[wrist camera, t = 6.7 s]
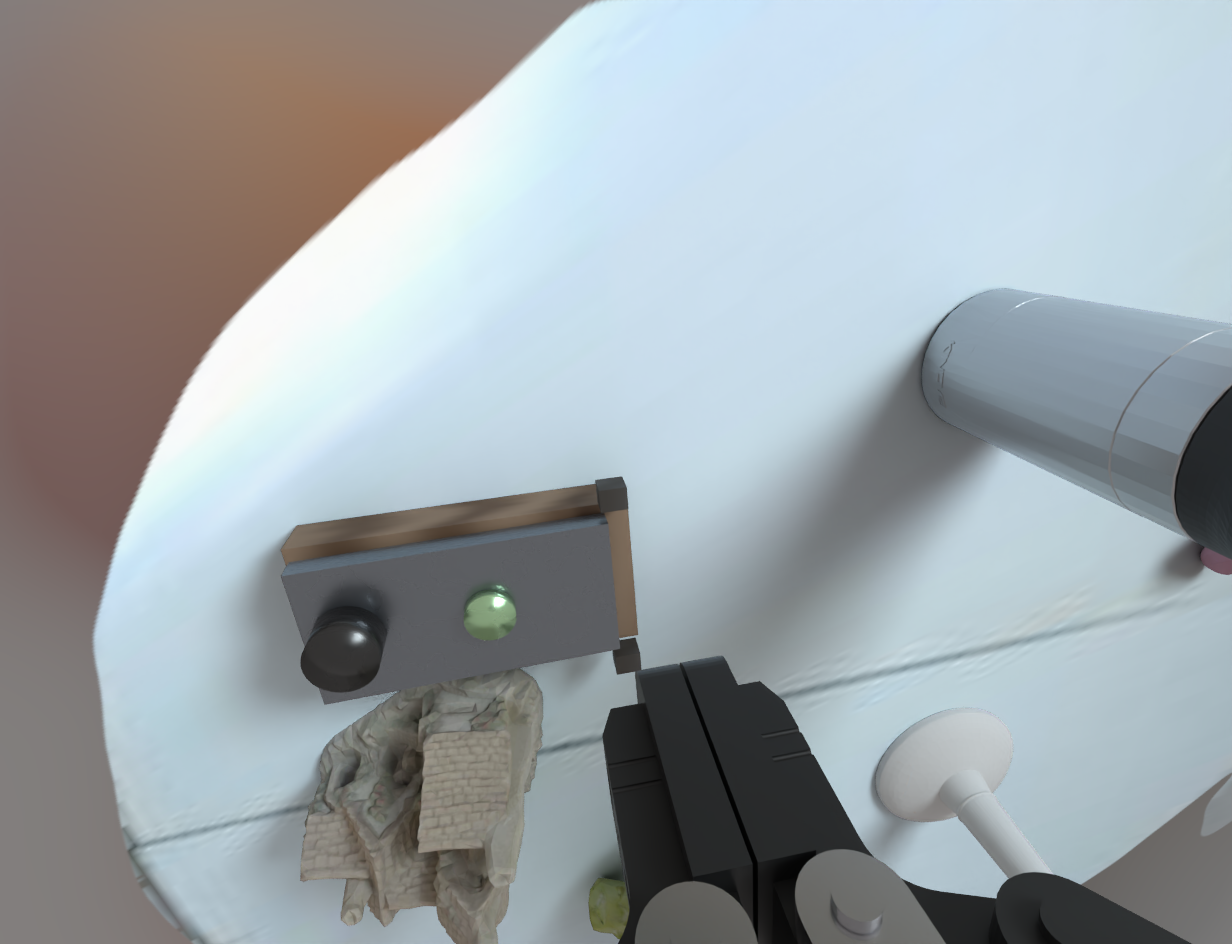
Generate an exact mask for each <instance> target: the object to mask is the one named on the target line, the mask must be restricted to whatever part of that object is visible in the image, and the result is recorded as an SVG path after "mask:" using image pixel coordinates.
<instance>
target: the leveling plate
mask: <svg viewBox="0 0 1232 944" xmlns="http://www.w3.org/2000/svg"><path fill="white" fill-rule="evenodd" d="M281 578H282V581H283V584H284V587H285V590H286V593H287V596H288V598H289V601H290V604H291V607H292V610H293V613H294V616H295V619H296V622H297V625H298V628H299V631H300V634H301V637H302V640H303V642H304V645H305V648H304V650H303V653H302V656H301V669H302V671H303V674H304V675H305V677H306V678H307V679H308V680H309V681H310V682H311V683H312V684H313V685H315V686H317V687H319V689H320V692H321V695H322V698H323V701H324V704H331V703H336V702H341V701H346V700H352V699H357V698H362V697H368V696H373V695H378V694H383V693H389V692H394V691H399V690H405V689H410V688H415V687H421V686H426V685H431V684H436V683H442V682H447V681H452V680H458V679H463V678H468V677H474V676H479V675H484V674H489V673H495V672H500V671H505V670H511V669H516V668H521V667H527V666H532V665H537V664H542V663H548V662H553V661H558V660H564V659H569V658H574V657H580V656H585V655H590V654H595V653H601V652H606V651H611V650H617V649H620V641H619V631H618V620H617V610H616V599H615V589H614V578H613V568H612V557H611V547H610V536H609V526H608V522H607V519H606V517H605V514H604V513H599V514H592V515H586V516H580V517H573V518H567V519H560V520H554V521H548V522H541V523H535V524H529V525H522V526H516V527H510V528H503V529H497V530H491V531H484V532H478V533H471V534H465V535H459V536H452V537H446V538H440V539H433V540H427V541H421V542H414V543H408V544H402V545H395V546H389V547H382V548H376V549H370V550H363V551H357V552H351V553H344V554H338V555H332V556H325V557H319V558H312V559H306V560H300V561H293V562H289V563H288V565H287V566H286V568H285V570H284V572H283V574H282V575H281Z"/></svg>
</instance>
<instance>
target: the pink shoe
mask: <svg viewBox="0 0 1232 944" xmlns="http://www.w3.org/2000/svg"><path fill="white" fill-rule="evenodd" d="M1200 557H1201V561H1202V563H1203V564H1204V565H1205V566H1206V567H1208V568H1209V569H1211V570H1213V571H1215V572H1217V573H1220V574H1225V575H1229V574H1232V560H1231V559H1229V558H1227V557H1225V556H1223V555H1221V554H1218V553H1216V552H1214V551H1212V550H1210V549H1208V548H1206V547H1204V549H1203V550H1202V551H1201V555H1200Z"/></svg>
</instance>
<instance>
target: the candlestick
mask: <svg viewBox="0 0 1232 944" xmlns="http://www.w3.org/2000/svg"><path fill="white" fill-rule="evenodd" d="M1012 755H1013V739H1012V736H1011V733H1010V731H1009V729H1008V728H1007V726H1006V725H1005V724H1004V723H1003V722H1002V721H1001V720H1000V719H999V718H998V717H997V716H996V715H994V714H993V713H991V712H988V711H986V710H983V709H978V708H969V707H965V708H955V709H949V710H945V711H942V712H939V713H936V714H933V715H931V716H929V717H927V718H924V719H923V720H921V721H919V722H917V723H916V724H914V725H913V726H911V727H910V728H908V729H907V730H906V731H905V732H903V733H902V734H901V735H900V736H899V737H898V738H897V739H896V740H895V741H894V742H893V743H892V744H891V745H890V747H889V748H888V749H887V751H886V752H885V754H884V755H883V757H882V759H881V761H880V763H879V766H878V769H877V772H876V780H875V784H876V790H877V793H878V796H879V798H880V799H881V801H882V803H883V804H884V806H885V807H886V808H887V809H888V810H889V811H890V812H891V813H893V814H894V815H896V816H898V817H900V818H903V819H906V820H911V821H918V822H934V821H942V820H946V819H950V818H953V817H956V816H958V818H959V820H960V821H961V822H962V823H963V824H964V825H965V826H966V827H967V828H968V830H969V831H970V832H971V833H972V834H973V836H974V837H975V838H976V839H977V841H978V842H979V843H980V844H981V845H982V847H983V848H984V849H985V850H986V851H987V853H988V854H989V855H990V856H991V858H992V859H993V860H994V861H995V862H996V864H997V865H998V866H999V867H1000V869H1001V870H1002V871H1003V872H1004V873H1005V875H1006V876H1007V877H1008V878H1009V879H1010V878H1011V877H1013V876H1015V875H1018V874H1022V873H1028V872H1041V873H1048V874H1053V873H1052V872H1051V870H1050V869H1049V868H1048V866H1047V865H1046V864H1045V862H1044V861H1043V860H1042V858H1041V857H1040V856H1039V854H1038V853H1037V852H1036V850H1035V849H1034V848H1033V846H1032V845H1031V844H1030V842H1029V841H1028V840H1027V839H1026V837H1025V836H1024V835H1023V833H1022V832H1021V831H1020V829H1019V828H1018V827H1017V825H1016V824H1015V823H1014V821H1013V820H1012V819H1011V817H1010V816H1009V815H1008V813H1007V812H1006V811H1005V809H1004V808H1003V807H1002V805H1001V804H1000V803H999V801H998V800H997V797H996V796H995V795H994V794H992V793H993V792H994V791H995V790H996V789H997V788H998V786H999V785H1000V784H1001V782H1002V781H1003V779H1004V777H1005V775H1006V773H1007V771H1008V769H1009V766H1010V763H1011V760H1012ZM1053 875H1054V874H1053Z"/></svg>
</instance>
